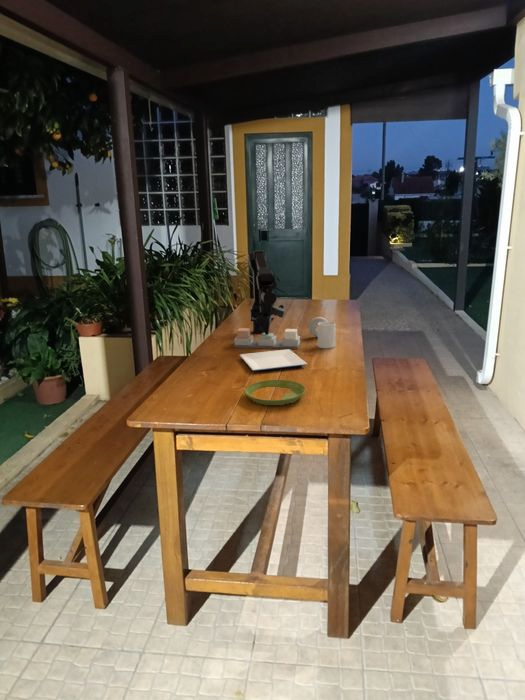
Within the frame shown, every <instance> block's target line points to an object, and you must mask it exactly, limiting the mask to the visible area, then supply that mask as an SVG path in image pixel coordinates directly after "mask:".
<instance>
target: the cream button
mask: <svg viewBox="0 0 525 700" xmlns="http://www.w3.org/2000/svg"><path fill="white" fill-rule="evenodd" d="M284 336H285V339H294V340H296V339H297V336H298V328H285V330H284Z"/></svg>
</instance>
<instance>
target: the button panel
mask: <svg viewBox="0 0 525 700" xmlns="http://www.w3.org/2000/svg"><path fill="white" fill-rule="evenodd" d="M300 345H301V336H300V335H297V339H296V340H294V339H285V335H284V336H283V338H282V339H281V340H277V335H274V337H273V339H261V335H260V336H259V337H258V339H256V340H254V335H253V334H250V337H249V338H248V339H246V338H237V336H235V338H234V345H233V348H234V347H236V348H237V347H238V349H239V348H240V349H241V348H242V349H243V348H244V349H271V348H276V349H277V348H280V349H279V350H286V349H290V350H298V349H299V347H300ZM282 348H283V349H282ZM277 350H278V349H277Z"/></svg>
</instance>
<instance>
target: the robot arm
mask: <svg viewBox="0 0 525 700" xmlns="http://www.w3.org/2000/svg"><path fill="white" fill-rule="evenodd" d="M267 260H268V259H267V252H265V251H264V250H255V251H252V252H251V251H250V252H249V253H248V254H247V263H248V265H249V267H250V269H251V270H252V281H253V282H252V285H253V289H252V290H253V301H252V302H251V305H250V309H249V314H248V315H249V321H250V322H252V330H251V331H250V334H262V333H265V334H266V335H268V334H269V333H270V328H271V324H272V322H273V321H274V320H275V317H276V316H277V317H279V318H281V319H282V318H283V317H284V316H285V312H286V308H285V306H284V305H283V304H279V306H278V305H275V303H276V302H277V296H276V293H275V292H274V291H273V290H275V289H277V280H276V276H275V274H273V272H272V269H270V268H269V267H268V264H267ZM273 315H274V316H275V317H272V316H273Z"/></svg>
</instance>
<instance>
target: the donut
mask: <svg viewBox="0 0 525 700" xmlns="http://www.w3.org/2000/svg"><path fill="white" fill-rule="evenodd" d="M325 321H328V320H327V319H326V318H325V317H322V316H317V317H316V316H315V317H314V318H312V319H311V320H310V321H309V323H308V332H309V333H310V334H311V335H312V336H313V337H315V338H318V328H317V327H316V326H318V323H319V322H325Z"/></svg>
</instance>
